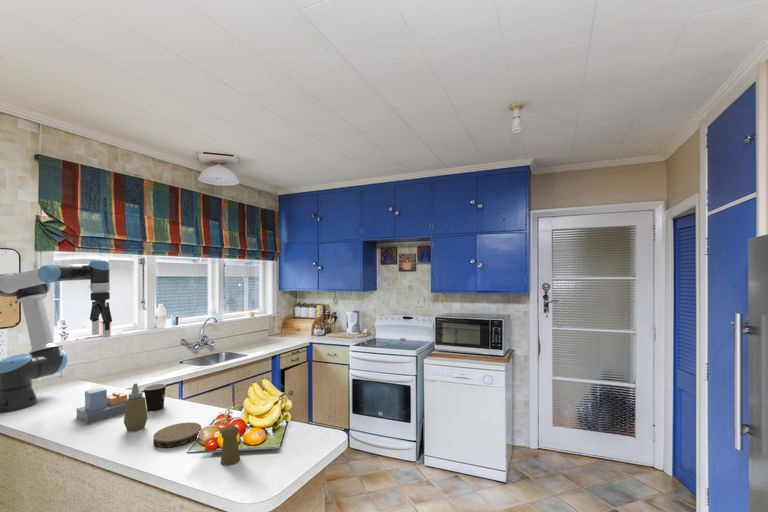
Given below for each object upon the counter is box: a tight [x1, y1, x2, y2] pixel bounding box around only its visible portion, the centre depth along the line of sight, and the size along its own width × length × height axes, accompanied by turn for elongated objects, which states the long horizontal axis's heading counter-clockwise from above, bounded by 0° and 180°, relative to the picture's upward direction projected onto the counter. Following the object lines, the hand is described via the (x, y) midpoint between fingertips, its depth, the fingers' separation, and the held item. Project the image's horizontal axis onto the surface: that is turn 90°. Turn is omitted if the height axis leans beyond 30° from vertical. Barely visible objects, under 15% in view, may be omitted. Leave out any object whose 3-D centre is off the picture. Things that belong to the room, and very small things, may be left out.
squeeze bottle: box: [123, 382, 148, 433], centre depth 156 cm, size 8×8×18 cm
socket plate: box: [76, 397, 129, 425], centre depth 172 cm, size 18×13×4 cm
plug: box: [84, 386, 108, 411], centre depth 169 cm, size 6×6×12 cm
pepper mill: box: [220, 425, 241, 467], centre depth 128 cm, size 6×6×11 cm
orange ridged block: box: [107, 391, 128, 406], centre depth 175 cm, size 6×6×4 cm
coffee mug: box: [143, 383, 167, 412], centre depth 178 cm, size 12×9×10 cm
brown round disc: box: [153, 422, 202, 450], centre depth 146 cm, size 16×16×3 cm
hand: (101, 336), depth 188 cm, fingers open, 13 cm apart
